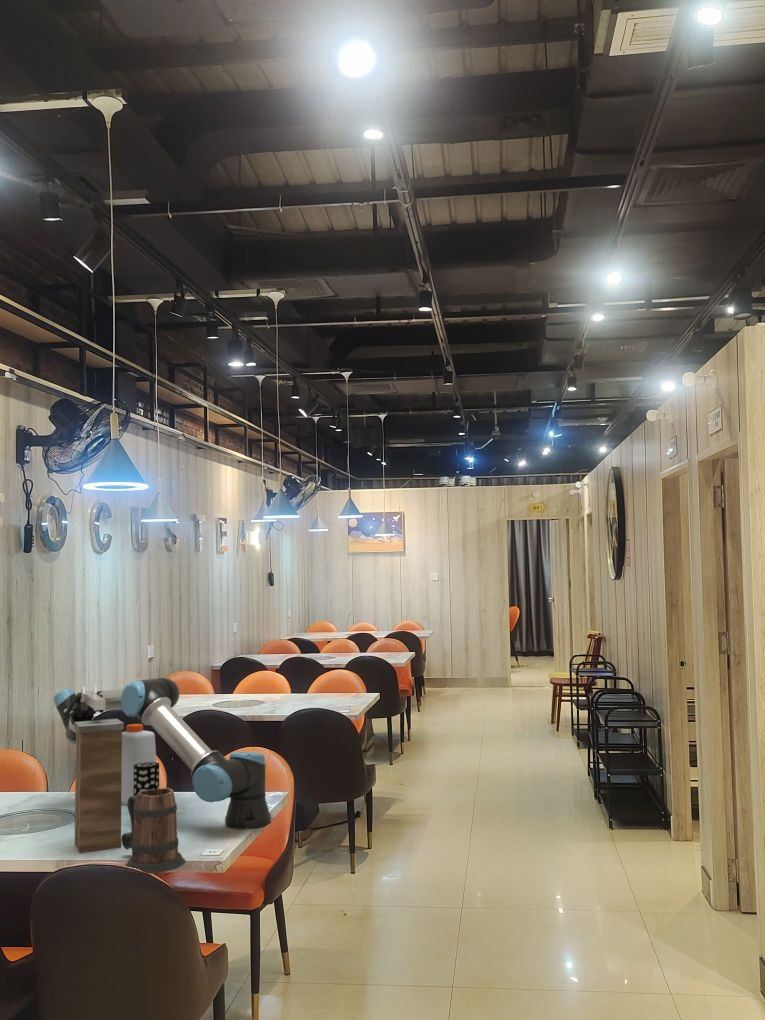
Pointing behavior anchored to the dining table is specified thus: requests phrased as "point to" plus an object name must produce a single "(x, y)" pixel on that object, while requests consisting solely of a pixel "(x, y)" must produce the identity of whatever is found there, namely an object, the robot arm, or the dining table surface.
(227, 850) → the dining table surface
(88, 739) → the column
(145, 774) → the white-spotted black cylinder
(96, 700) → the bar
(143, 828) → the tankard
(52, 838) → the dining table surface
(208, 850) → the dining table surface
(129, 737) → the plastic bottle
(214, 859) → the dining table surface
